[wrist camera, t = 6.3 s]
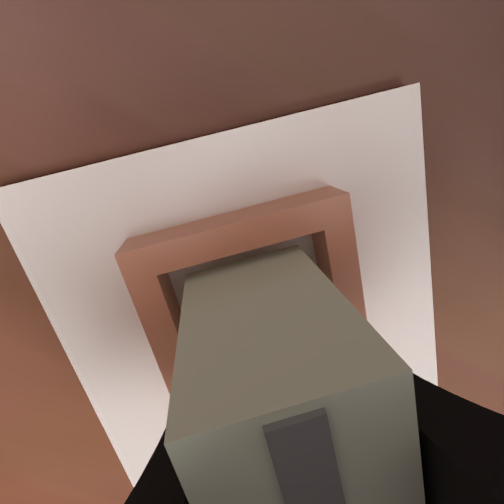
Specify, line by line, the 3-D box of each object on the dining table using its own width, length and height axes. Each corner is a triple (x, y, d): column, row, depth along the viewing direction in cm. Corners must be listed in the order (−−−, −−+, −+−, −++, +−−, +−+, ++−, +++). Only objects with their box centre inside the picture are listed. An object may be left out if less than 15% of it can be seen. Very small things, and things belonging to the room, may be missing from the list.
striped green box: (324, 381, 14) (439, 605, 7) (229, 409, 14) (255, 666, 7) (297, 244, 12) (418, 376, 5) (185, 274, 12) (162, 452, 5)
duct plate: (403, 86, 13) (455, 73, 10) (426, 396, 18) (465, 441, 15) (1, 187, 12) (-55, 200, 9) (144, 481, 17) (133, 544, 14)
